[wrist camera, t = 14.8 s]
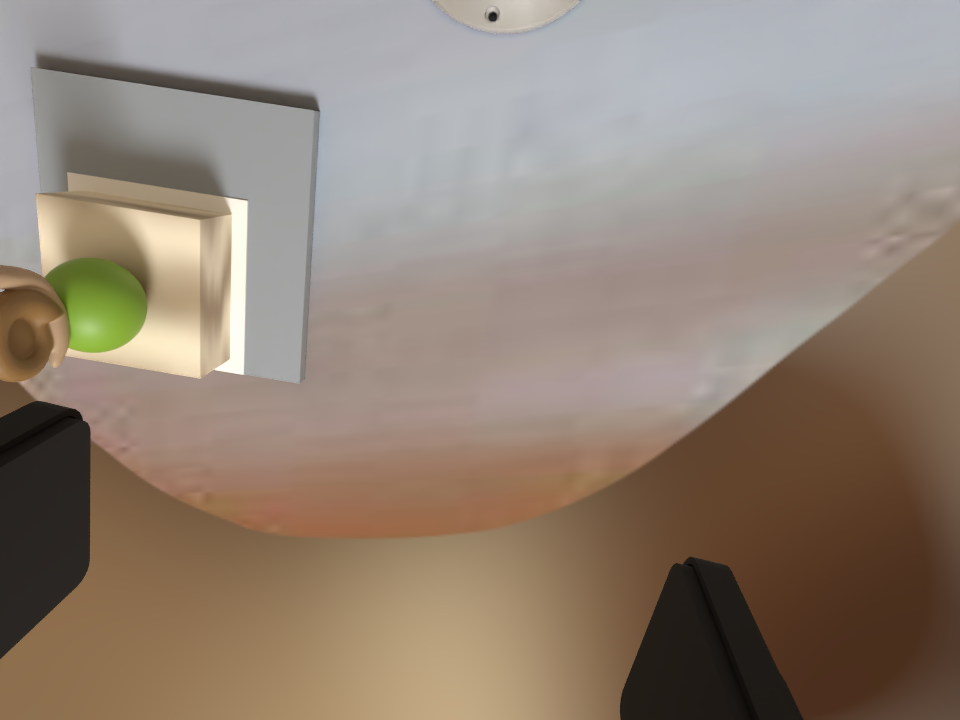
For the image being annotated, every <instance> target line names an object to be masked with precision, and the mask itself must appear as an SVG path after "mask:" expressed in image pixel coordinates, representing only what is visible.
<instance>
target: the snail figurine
mask: <svg viewBox="0 0 960 720" xmlns="http://www.w3.org/2000/svg"><path fill="white" fill-rule="evenodd" d="M0 289H5V291H3V292H0V380H3V381H9V382H19V381H24V380H27V379H30V378H32V377H34V376H35V375H37V374H38V373H39V372H40V371H41V370H42V369H43V368H44V366H45V365H46V363H47V361H48V360H49V363H50V365H51V366H52V367H53V368H56V367H58V366H59V365H60V364H61V362H62V361H63V359H64V357H65V355H66V353H67V350H68V348H70V349H73V350H76V351H80V352H87V353H101V352H107V351H111V350H115V349H117V348H120V347H122V346H124V345H125V344H127V343H128V342H130V341H131V340H132V339H133V338H134V337H135V336H136V335H137V334H138V333H139V332H140V330H141V329H142V327H143V325H144V323H145V320H146V316H147V299H146V295H145V292H144V290H143V288H142V286H141V284H140V283H139V281H138V280H137V279H136V278H135V277H134V276H133V275H132V274H131V273H130V272H129V271H128V270H126V269H125V268H123V267H122V266H120V265H118V264H116V263H114V262H111V261H108V260H104V259H99V258H78V259H73V260H70V261H67V262H64V263H62V264H60V265H58V266H56V267H55V268H54V269H52V270H51V271H50V272H49V273H48V274H47V275H46V276H45V277H42V276H41V275H39V274H37V273H35V272H32V271H30V270H27V269H23V268H19V267H13V266H4V265H0Z"/></svg>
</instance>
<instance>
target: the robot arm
mask: <svg viewBox="0 0 960 720" xmlns="http://www.w3.org/2000/svg"><path fill="white" fill-rule="evenodd" d="M432 1H433V2H434V3H435V5H436V6H437V7H438V8H439V9H440V10H442V11H443V12H445V13H446V14H447V15H449V16H450V17H452V18H453V19H455V20H456V21H457V22H460V23H462V24H464V25H467V26H469V27H471V28H474V29H476V30H480V31H485V32H490V33H495V34H512V33H521V32H525V31H530V30H534V29H538V28H540V27H542V26H544V25H547V24H549V23H551V22H553V21H555V20H557V19H559V18H560V17H561V16H563V15H564V14H566V13H567V12H568V11H570V10H571V9H573V8H574V7H575V6H576V5H577V4H578V3H579V2H580V1H581V0H432ZM491 13H495V14H497V20H496V21H494V22H491V21H490V20H489V15H490V14H491ZM89 561H90V427H89V425H88V423H87V422H85V421H83V418H82V416H81V414H80V412H79V411H77V410H76V409H72V408H68V407H63V406H59V405H55V404H51V403H47V402H42V401H35V402H32V403H29V404H27V405H25V406H23V407H21V408H19V409H17V410H15V411H13V412H11V413H9V414H7V415H5V416H3V417H1V418H0V659H1V658H2V657H3V656H4V655H5V654H6V653H7V652H8V651H9V650H10V649H11V648H12V647H14V645H16V643H18V642H19V641H20V640H21V639H22V638H23V637H24V636H25V635H26V634H27V633H28V632H29V631H30V630H31V629H33V628H34V627H35V626H36V625H37V624H38V623H39V622H40V621H41V620H42V619H43V618H44V617H45V616H46V615H47V614H48V613H49V612H50V611H52V610H53V609H54V608H55V607H56V606H57V605H58V604H59V603H60V602H61V601H62V600H63V599H64V598H65V597H66V596H67V595H68V594H69V593H71V592H72V590H74V589H75V588H76V587H77V586H78V585H79V584H80V582H81V581H82V579H83V578H84V576H85V574H86V572H87V570H88V567H89ZM620 717H621V720H803V718H802V716H801V714H800V712H799V709H798V707H797V705H796V703H795V701H794V699H793V697H792V695H791V693H790V691H789V688H788V686H787V684H786V682H785V681H784V679H783V678H782V676H781V674H780V673H779V671H778V669H777V667H776V664H775V663H774V660H773V658H772V656H771V654H770V652H769V650H768V647H767V645H766V644H765V641H764V639H763V637H762V635H761V633H760V631H759V629H758V626H757V624H756V622H755V620H754V618H753V616H752V613H751V611H750V609H749V607H748V605H747V603H746V601H745V599H744V597H743V594H742V593H741V590H740V588H739V586H738V584H737V582H736V580H735V577H734V575H733V573H732V571H731V570H730V568H729V567H728V566H726V565H723V564H719V563H715V562H710V561H706V560H703V559H698V558H694V557H689V558H688V559H687V560H686V561H685V562H684V564H678V563H676V564H674V565H673V566H672V568H671V570H670V572H669V575H668V577H667V580H666V582H665V584H664V587H663V590H662V592H661V595H660V597H659V600H658V602H657V605H656V607H655V610H654V613H653V615H652V617H651V620H650V623H649V625H648V628H647V630H646V633H645V635H644V638H643V640H642V643H641V646H640V648H639V650H638V653H637V656H636V658H635V661H634V663H633V666H632V668H631V671H630V673H629V676H628V678H627V681H626V683H625V686H624V689H623V692H622V696H621V703H620Z"/></svg>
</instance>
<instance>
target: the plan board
mask: <svg viewBox="0 0 960 720" xmlns="http://www.w3.org/2000/svg"><path fill="white" fill-rule="evenodd" d="M30 68H31V80H32V92H33V104H34V116H35V129H36V141H37V153H38V165H39V177H40V190H41V193H52V192H67V191H82V190H83V191H90V192H96V193H102V194H108V195H115V196H121V197H127V198H133V199H140V200H146V201H152V202H158V203H165V204H171V205H177V206H183V207H190V208H196V209H202V210H208V211H215V212H221V213H227V214H232V250H231V316H230V359H229V360H228V361H226V362H225V363H223V364H222V365H220V366H219V367H217V368H216V369H214V370H218V371H224V372H230V373H236V374H242V375H244V374H245V375H251V376H257V377H263V378H269V379H275V380H281V381H286V382H292V383H298V384H300V383H301V382H302V381H303V380H304V379H305V362H306V344H307V327H308V309H309V292H310V275H311V257H312V240H313V222H314V205H315V187H316V170H317V152H318V135H319V118H320V112H319V111H314V110H308V109H301V108H295V107H288V106H281V105H275V104H268V103H262V102H255V101H249V100H242V99H236V98H229V97H223V96H216V95H210V94H203V93H197V92H190V91H184V90H177V89H171V88H164V87H157V86H151V85H144V84H138V83H131V82H125V81H118V80H112V79H105V78H99V77H92V76H86V75H79V74H73V73H66V72H60V71H53V70H47V69H40V68H33V67H30Z"/></svg>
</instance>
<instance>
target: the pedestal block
mask: <svg viewBox="0 0 960 720" xmlns="http://www.w3.org/2000/svg"><path fill="white" fill-rule="evenodd" d="M36 202H37V214H38V226H39V238H40V250H41V262H42V273H43V277H45V276H46V275H47V274H48V273H49V272H50V271H51V270H52V269H54V268H55V267H56V266H58V265H60V264H62V263H64V262H67V261H70V260H73V259H78V258H99V259H104V260H108V261H111V262H114V263H116V264H118V265H120V266H122V267H123V268H125V269H126V270H128V271H129V272H130V273H131V274H132V275H133V276H134V277H135V278H136V279H137V280H138V281H139V283H140V284H141V286H142V288H143V290H144V292H145V295H146V299H147V316H146V320H145V323H144V325H143V327H142V329H141V330H140V332H139V333H138V334H137V335H136V336H135V337H134V338H133V339H132V340H131V341H130V342H128V343H127V344H125V345H124V346H122V347H120V348H117V349H115V350H111V351H107V352H101V353H87V352H80V351H76V350H73V349H70V348H68V350H67V353H66V355H65V356H71V357H76V358H82V359H88V360H94V361H100V362H106V363H112V364H118V365H124V366H130V367H135V368H141V369H147V370H153V371H159V372H165V373H171V374H177V375H183V376H189V377H194V378H202V377H203V376H205V375H206V374H208V373H209V372H211V371H213V370H214V369H216V368H217V367H219V366H220V365H222V364H223V363H225V362H226V361H228V360H229V359H230V316H231V250H232V214H227V213H221V212H215V211H208V210H202V209H196V208H190V207H183V206H177V205H171V204H165V203H158V202H152V201H146V200H140V199H133V198H127V197H121V196H115V195H108V194H102V193H96V192H90V191H83V190H82V191H67V192H52V193H37V194H36Z"/></svg>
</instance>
